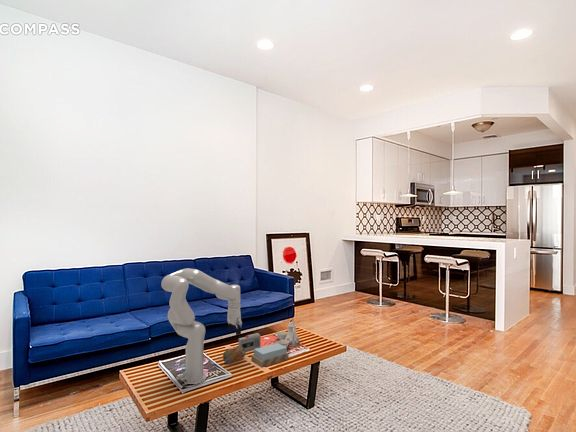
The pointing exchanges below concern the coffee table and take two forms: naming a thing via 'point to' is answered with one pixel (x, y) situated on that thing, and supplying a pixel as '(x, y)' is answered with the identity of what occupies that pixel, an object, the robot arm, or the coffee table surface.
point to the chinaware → (288, 336)
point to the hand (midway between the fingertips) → (234, 332)
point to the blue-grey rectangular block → (270, 351)
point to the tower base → (269, 360)
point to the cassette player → (250, 342)
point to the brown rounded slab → (234, 354)
